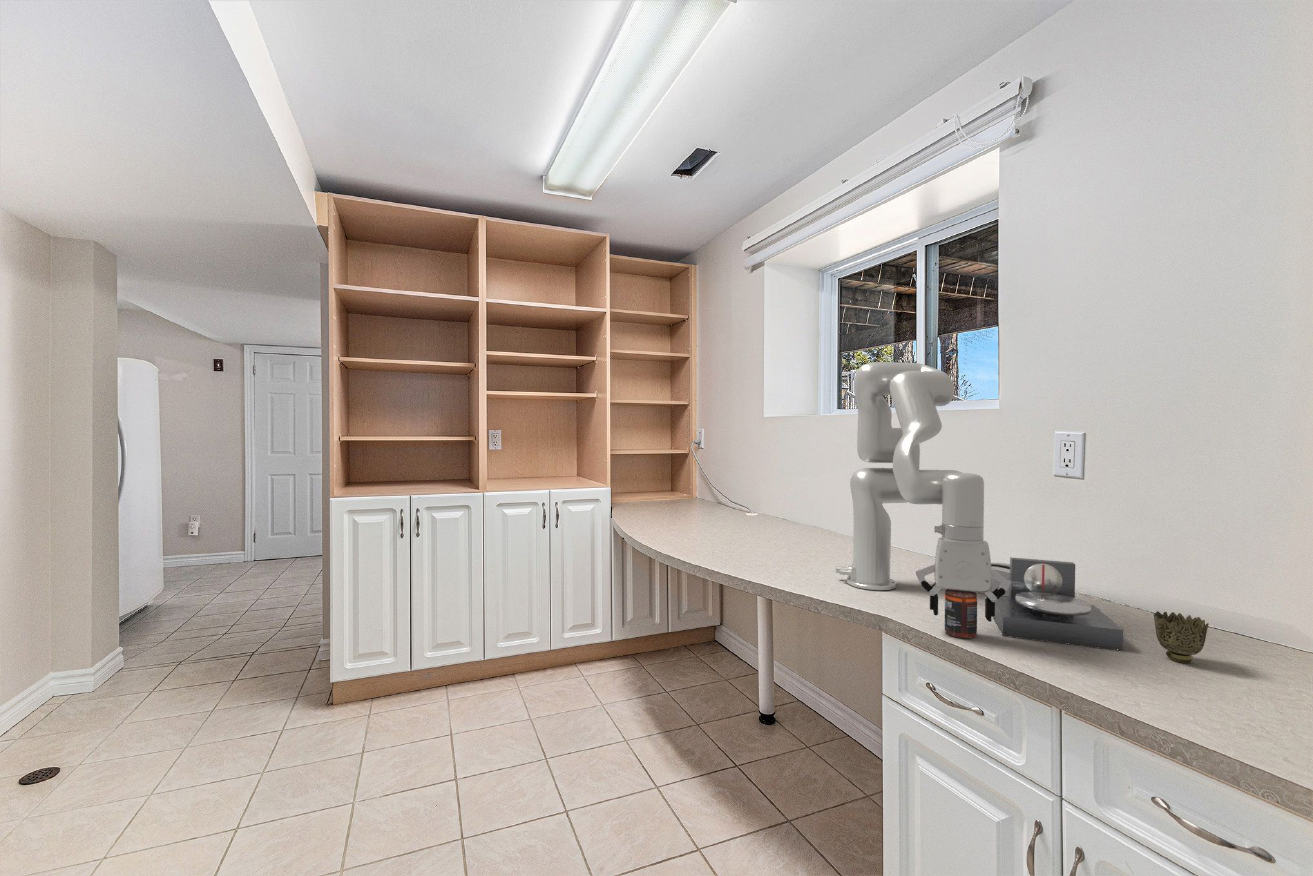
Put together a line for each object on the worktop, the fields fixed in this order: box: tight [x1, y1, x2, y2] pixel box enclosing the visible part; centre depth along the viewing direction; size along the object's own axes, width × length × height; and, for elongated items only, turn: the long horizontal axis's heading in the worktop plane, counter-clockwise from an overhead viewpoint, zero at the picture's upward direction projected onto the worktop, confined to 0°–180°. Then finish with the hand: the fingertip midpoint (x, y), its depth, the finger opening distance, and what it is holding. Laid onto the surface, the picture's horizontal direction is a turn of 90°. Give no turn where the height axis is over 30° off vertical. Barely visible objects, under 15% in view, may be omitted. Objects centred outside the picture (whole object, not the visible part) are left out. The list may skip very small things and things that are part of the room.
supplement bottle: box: [944, 589, 978, 640], centre depth 118 cm, size 6×6×11 cm
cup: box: [1153, 610, 1209, 664], centre depth 106 cm, size 8×7×8 cm
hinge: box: [980, 562, 1010, 596], centre depth 143 cm, size 17×5×10 cm, turn 27°
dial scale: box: [992, 556, 1124, 651], centre depth 122 cm, size 20×17×13 cm
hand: (961, 616), depth 118 cm, fingers open, 9 cm apart
